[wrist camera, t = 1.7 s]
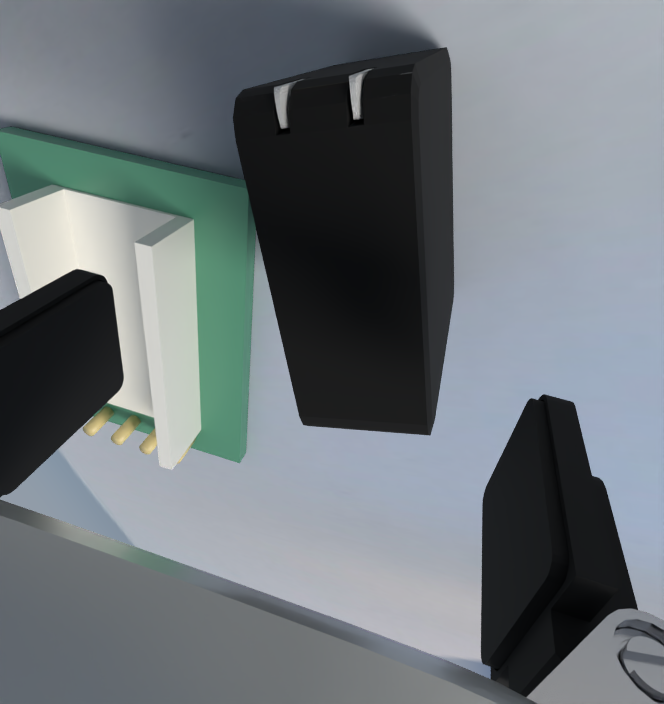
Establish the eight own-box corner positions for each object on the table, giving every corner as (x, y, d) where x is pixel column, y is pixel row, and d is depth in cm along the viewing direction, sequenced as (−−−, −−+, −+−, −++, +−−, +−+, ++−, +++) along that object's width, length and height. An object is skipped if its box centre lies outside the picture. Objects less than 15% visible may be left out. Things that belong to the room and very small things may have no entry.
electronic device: (366, 298, 24) (301, 438, 16) (339, 63, 19) (221, 95, 11) (454, 298, 23) (432, 449, 15) (451, 45, 17) (413, 66, 9)
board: (10, 126, 24) (-75, 144, 20) (257, 183, 22) (211, 214, 18) (75, 398, 34) (26, 442, 31) (245, 452, 33) (215, 505, 29)
